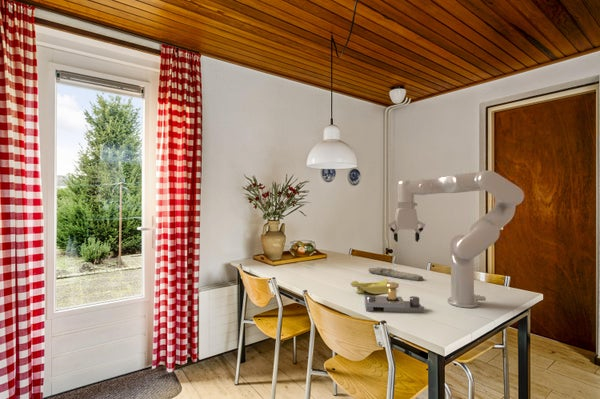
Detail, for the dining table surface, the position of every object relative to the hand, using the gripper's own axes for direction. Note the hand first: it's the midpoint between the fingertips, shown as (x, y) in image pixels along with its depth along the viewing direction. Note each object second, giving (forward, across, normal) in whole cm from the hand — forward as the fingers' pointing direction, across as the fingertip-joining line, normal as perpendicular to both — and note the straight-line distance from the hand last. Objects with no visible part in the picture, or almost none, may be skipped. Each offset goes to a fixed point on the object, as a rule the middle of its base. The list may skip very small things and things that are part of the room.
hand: (406, 241), depth 156 cm
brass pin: (+28, +9, +13) cm, 32 cm away
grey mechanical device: (+28, +9, +13) cm, 32 cm away
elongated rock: (+29, -2, -45) cm, 54 cm away
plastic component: (+29, +17, -12) cm, 35 cm away
